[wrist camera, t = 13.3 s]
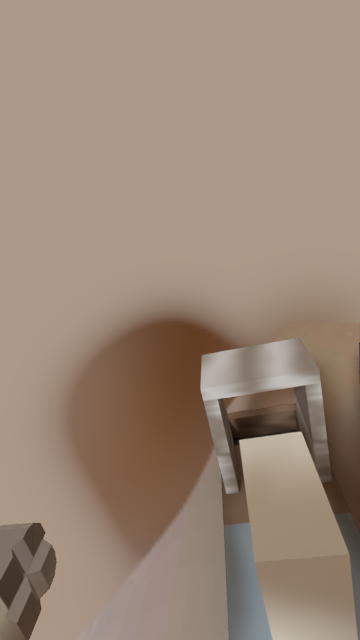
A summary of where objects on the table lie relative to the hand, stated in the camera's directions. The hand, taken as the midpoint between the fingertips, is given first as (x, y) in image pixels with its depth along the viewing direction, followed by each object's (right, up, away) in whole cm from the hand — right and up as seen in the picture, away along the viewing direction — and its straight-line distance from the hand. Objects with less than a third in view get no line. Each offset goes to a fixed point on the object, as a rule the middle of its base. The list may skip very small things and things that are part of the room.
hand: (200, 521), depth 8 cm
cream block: (+10, -18, +23) cm, 31 cm away
